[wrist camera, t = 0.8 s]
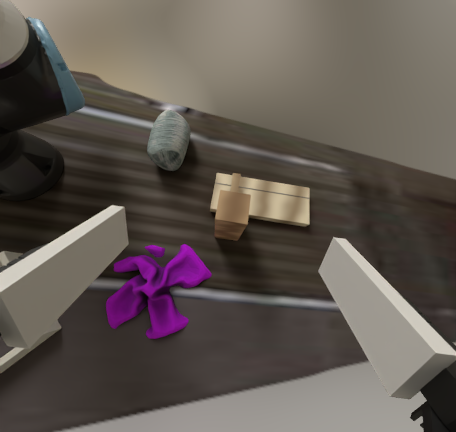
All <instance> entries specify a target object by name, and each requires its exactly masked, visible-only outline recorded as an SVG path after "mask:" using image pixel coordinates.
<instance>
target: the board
mask: <svg viewBox="0 0 456 432" xmlns="http://www.w3.org/2000/svg"><path fill="white" fill-rule="evenodd" d="M232 176H233V175H227V174H221V173H217V176H216V181H215V186H214V191H213V197H212V202H211V207H210V212H216V211H217V205H218V200H219V194H220V190H225V191H230V189H231V183H232ZM238 193H243V194H249V195H251V199H250V208H249V216H248V218H254V219H260V220H266V221H272V222H279V223H285V224H291V225H297V226H304V227H306V226H307V225H309V188H306V187H300V186H294V185H288V184H282V183H276V182H269V181H263V180H257V179H251V178H245V177H240V182H239V189H238Z"/></svg>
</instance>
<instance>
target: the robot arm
mask: <svg viewBox="0 0 456 432" xmlns="http://www.w3.org/2000/svg"><path fill="white" fill-rule="evenodd" d="M84 105H85V99H84V97H83V95H82V93H81V91H80V89H79V87H78V85H77V84H76V82H75V80H74V78H73V76H72V74H71V72H70V71H69V69H68V67H67V65H66V63H65V62H64V60H63V58H62V56H61V54H60V52H59V51H58V49H57V47H56V45H55V43H54V41H53V40H52V38H51V36H50V34H49V32H48V30H47V29H46V27H45V25H44V24H43V22H42V21H40V20H39V19H35V18H34V19H33V18H31V17H28V18H26V19H25V18H24V16H23V15H22V14H21V12H20V11H19V10H18V9H17V8H16V6H15V5H14V4H13V3H12V2H11V1H9V0H0V198H2V199H5V200H10V201H22V200H28V199H31V198H34V197H37V196H39V195H41V194H43V193H44V192H46V191H47V190H49V189H50V188H51V187H52V186H53V185H54V184H55V183H56V182H57V181H58V179H59V178H60V176H61V174H62V171H63V166H64V162H63V158H62V155H61V154H60V152H59V151H58V150H57V149H56V148H54V147H53V146H52V145H51V144H49V143H48V142H46V141H45V140H43V139H40V138H38V137H36V136H33V135H31V134H29V133H27V132H24V131H22V130H20V129H23V128H26V127H30V126H33V125H36V124H40V123H43V122H46V121H49V120H53V119H56V118H59V117H62V116H67V115H69V114H70V113H72V112H74V111H77V110H79V109H81V108H83V106H84ZM128 244H129V243H128V234H127V225H126V216H125V207H121V206H114V205H112V206H110V207H108V208H107V209H105V210H103V211H102V212H100V213H98V214H97V215H95V216H93V217H92V218H90V219H88V220H87V221H85V222H83V223H82V224H80V225H79V226H77V227H75V228H74V229H72V230H70V231H69V232H67V233H65V234H64V235H62V236H60V237H59V238H57V239H55V240H54V241H52V242H50V243H49V244H48V243H47V244H44V245H42V246H39V247H36V248H34V249H31V250H29V251H28V252H26V253H24V254H23V255H21V256H19V257H18V259H14V260H12V261H11V262H9V263H7V265H6V266H5V265H4V266H2V267H0V336H1V337H2V338H3V340H4V342H5V343H6V345H7V346H10V347H18V348H26V349H30V347H31V346H32V345H33V344H34V343H35V342H36V341H37V340H38V339H39V338H40V337H41V336H42V335H43V334H44V333H45V332H46V331H47V330H48V329H49V327H50V326H51V325H52V324H53V323H54V322H55V321H56V320H57V319H58V318H59V317H60V316H61V315H62V314H63V313H64V312H65V311H66V310H67V309H68V307H69V306H70V305H71V304H72V303H73V302H74V301H75V300H76V299H77V298H78V297H79V296H80V295H81V294H82V293H83V292H84V291H85V290H86V288H87V287H88V286H89V285H90V284H91V283H92V282H93V281H94V280H95V279H96V278H97V277H98V276H99V275H100V274H101V273H102V272H103V271H104V270H105V268H106V267H107V266H108V265H109V264H110V263H111V262H112V261H113V260H114V259H115V258H116V257H117V256H118V255H119V254H120V253H121V252H122V251H123V250H124V248H125V247H126V246H127V245H128ZM319 273H320V275H321V277H322V278H323V280H324V282H325V284H326V286H327V287H328V289H329V291H330V293H331V294H332V296H333V298H334V300H335V301H336V303H337V305H338V307H339V308H340V310H341V312H342V314H343V315H344V317H345V319H346V321H347V322H348V324H349V326H350V328H351V330H352V331H353V333H354V335H355V337H356V338H357V340H358V342H359V344H360V345H361V347H362V349H363V351H364V352H365V354H366V356H367V358H368V359H369V361H370V363H371V365H372V366H373V368H374V370H375V372H376V373H377V375H378V377H379V379H380V380H381V382H382V384H383V386H384V387H385V389H386V391H387V393H388V394H389V396H390V397H396V398H404V399H411V398H412V397H413V396H414V395H416V394H417V393H418V392H419V391H421V393H422V394H423V395H424V397H425V398H426V400H427V401H426V402H425V403H424V404H422V405H421V406H420V407H419V408H418V409H416V410H415V411H414V412H412V414H411V417H410V418H411V419H412V420H413V421H415V420H416V419H418V418H419V417H420V416H423V423H422V424H420V426H421V427H422V428H424V432H456V346H455V345H454V344H453V343H452V342H451V341H450V340H449V339H448V338H447V337H446V336H445V335H444V334H443V333H442V332H441V331H440V330H439V329H438V328H437V327H436V326H435V325H434V324H432V323H431V321H430V320H429V319H428V318H427V317H426V316H425V315H423V314H422V312H421V311H420V310H419V309H418V308H417V307H416V306H415V305H414V304H413V303H412V302H411V301H410V300H408V299H407V298H405V297H404V296H403V295H401V294H400V293H398V292H397V291H396V290H395V289H394V288H393V287H392V286H391V285H390V284H389V283H388V282H387V281H386V280H385V279H384V278H383V277H382V276H381V275H380V274H379V273H378V272H377V271H376V270H375V269H374V268H373V267H372V266H371V265H370V264H369V263H368V262H367V261H366V260H365V259H364V258H363V257H362V255H361V254H360V253H359V252H358V251H357V250H356V249H355V248H354V247H353V246H352V245H351V244H350V243H349V242H348V241H347V240H346V239H341V238H334V237H333V240H332V242H331V244H330V246H329V248H328V251H327V253H326V255H325V257H324V260H323V262H322V264H321V266H320V268H319Z"/></svg>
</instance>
